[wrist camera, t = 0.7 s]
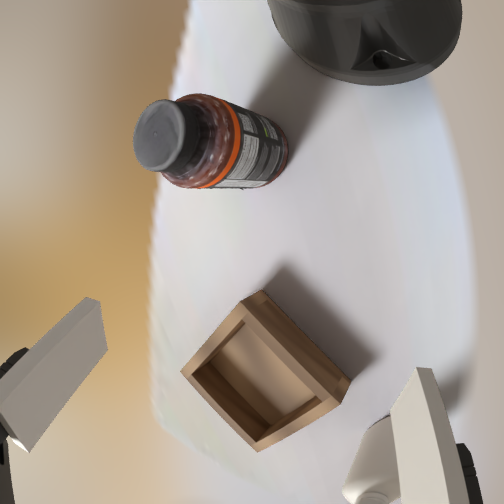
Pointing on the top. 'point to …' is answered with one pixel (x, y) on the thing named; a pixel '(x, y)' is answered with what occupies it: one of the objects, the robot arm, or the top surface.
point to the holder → (265, 374)
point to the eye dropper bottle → (374, 468)
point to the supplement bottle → (209, 143)
